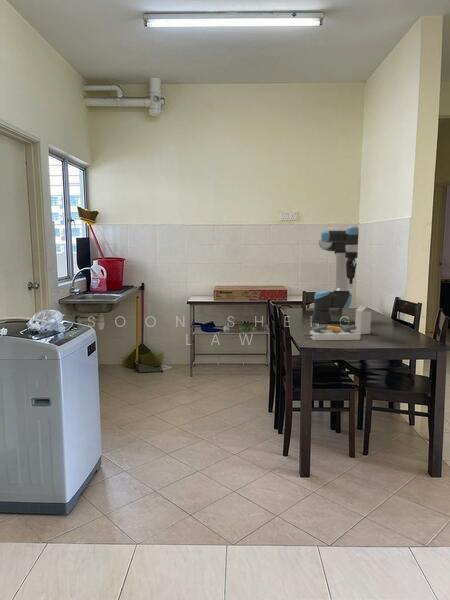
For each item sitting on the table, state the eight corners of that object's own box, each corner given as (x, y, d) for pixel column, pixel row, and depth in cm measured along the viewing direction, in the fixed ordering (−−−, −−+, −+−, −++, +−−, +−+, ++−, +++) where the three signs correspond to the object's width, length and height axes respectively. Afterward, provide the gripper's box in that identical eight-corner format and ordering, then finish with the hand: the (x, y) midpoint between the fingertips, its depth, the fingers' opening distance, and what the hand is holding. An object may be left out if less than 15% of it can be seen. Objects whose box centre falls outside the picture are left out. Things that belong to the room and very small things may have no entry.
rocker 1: (312, 330, 275) (312, 327, 275) (324, 327, 275) (324, 324, 275) (314, 332, 270) (314, 329, 270) (326, 329, 271) (326, 326, 270)
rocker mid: (326, 327, 275) (327, 324, 275) (338, 330, 276) (339, 327, 276) (329, 329, 271) (329, 326, 271) (341, 331, 272) (341, 328, 271)
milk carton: (360, 334, 284) (362, 305, 282) (354, 332, 291) (356, 304, 288) (370, 333, 286) (371, 305, 284) (364, 331, 293) (365, 303, 290)
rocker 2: (342, 330, 276) (341, 327, 276) (354, 327, 277) (353, 324, 276) (344, 331, 272) (343, 329, 271) (356, 328, 272) (356, 325, 272)
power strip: (302, 336, 276) (302, 329, 276) (354, 336, 279) (354, 328, 278) (306, 340, 266) (306, 332, 266) (360, 339, 269) (360, 332, 268)
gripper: (342, 251, 281) (340, 287, 284) (349, 251, 268) (347, 289, 271) (353, 251, 281) (352, 287, 284) (361, 252, 268) (359, 289, 272)
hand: (349, 288), depth 278 cm, fingers closed
